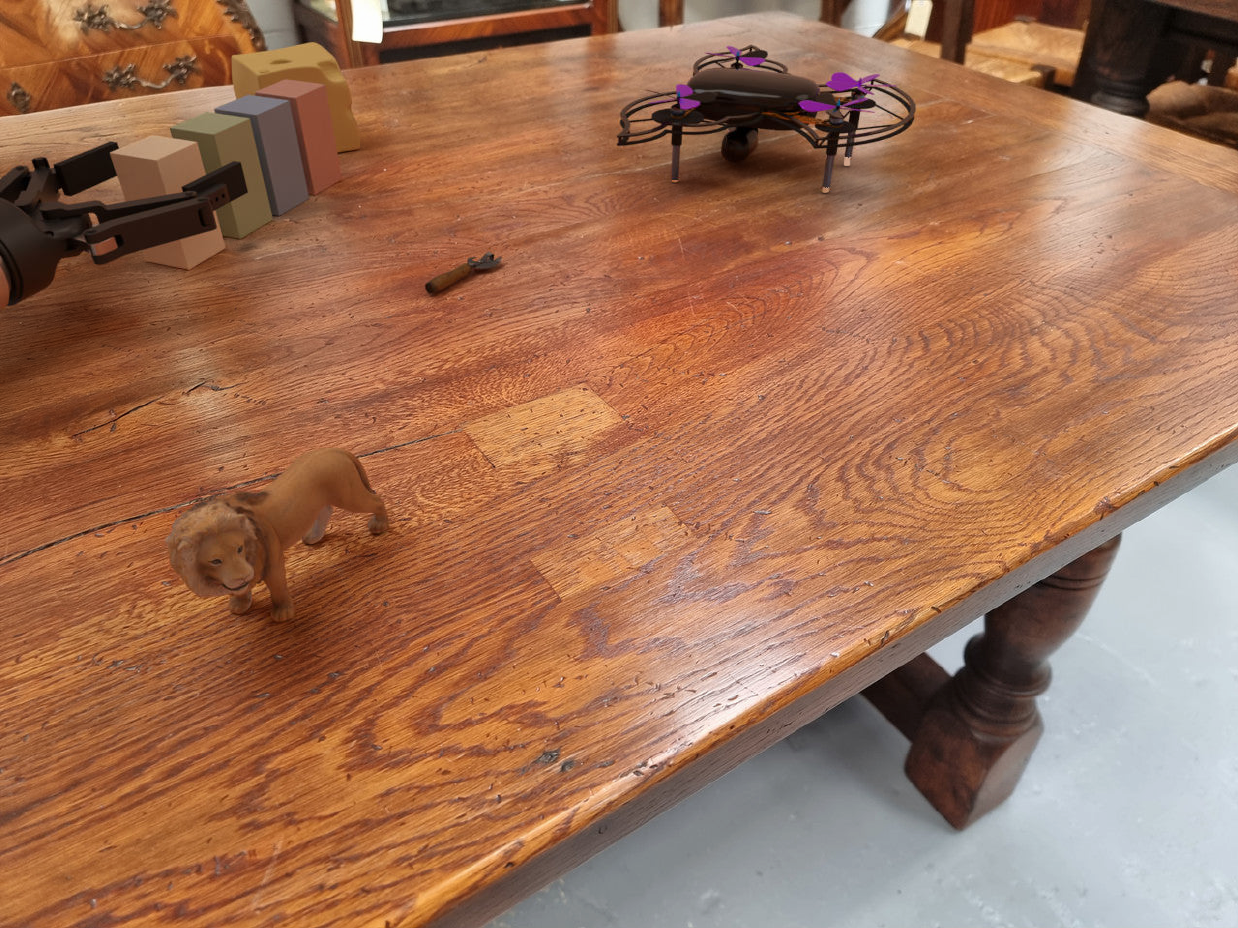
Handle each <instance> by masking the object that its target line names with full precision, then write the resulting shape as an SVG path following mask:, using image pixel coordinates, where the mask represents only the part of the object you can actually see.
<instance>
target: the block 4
mask: <svg viewBox="0 0 1238 928" xmlns="http://www.w3.org/2000/svg"><path fill="white" fill-rule="evenodd" d="M255 96H260V97H267V98H275V99H282V100H289V101H290V106H291V111H292V116H293V121H294V126H295V131H296V136H297V141H298V146H299V151H300V156H301V160H302V165H303V170H304V175H305V180H306V185H307V190H308V195H312V196H316V195H318V194H319V193H321V192H324V191H325V190H327V189H328V188H329V187H331V186H333V185H335V184H336V183H338V182H339V181H341V180H343V176H342V172H341V170H342V169H341V166H340V165H341V164H340V160H339V154H338V153H339V152H338V153H337V148H336V142H335V136H334V131H333V125H332V119H331V114H330V108H329V102H328V97H327V91H326V85H325V84H317V83H310V82H302V81H294V80H287V79H285V80H282V81H280V82H278V83H275V84H273V85H270V86H268V87H266V88H263V89H261V90H258V91H256V92H255Z"/></svg>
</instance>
